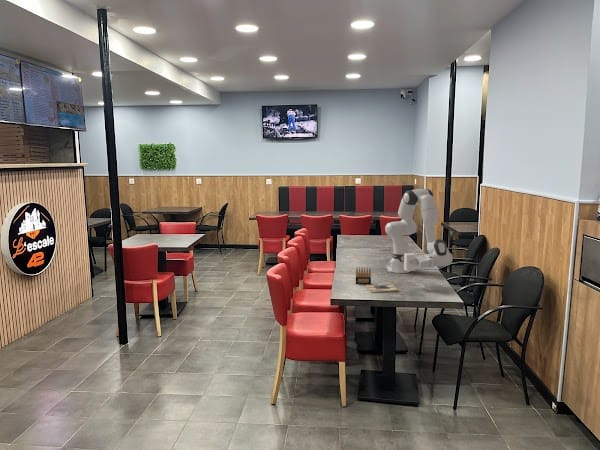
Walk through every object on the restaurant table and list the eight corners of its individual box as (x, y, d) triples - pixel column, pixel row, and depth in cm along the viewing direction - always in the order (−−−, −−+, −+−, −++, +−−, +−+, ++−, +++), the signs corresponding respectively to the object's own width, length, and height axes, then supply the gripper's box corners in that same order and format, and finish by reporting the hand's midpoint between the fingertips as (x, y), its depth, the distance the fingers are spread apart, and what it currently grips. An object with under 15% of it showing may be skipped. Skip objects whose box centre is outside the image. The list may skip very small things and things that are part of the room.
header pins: (378, 287, 297) (378, 283, 297) (384, 287, 298) (384, 283, 297) (379, 287, 296) (379, 283, 296) (384, 287, 297) (384, 283, 296)
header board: (365, 286, 304) (365, 284, 304) (391, 285, 306) (391, 283, 306) (371, 292, 288) (371, 291, 288) (398, 291, 290) (398, 290, 290)
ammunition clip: (355, 284, 310) (355, 267, 308) (355, 283, 312) (355, 266, 310) (371, 284, 308) (371, 267, 307) (371, 283, 310) (371, 267, 308)
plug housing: (403, 269, 301) (404, 253, 299) (412, 269, 301) (412, 253, 300) (406, 271, 296) (406, 254, 294) (415, 270, 296) (415, 254, 295)
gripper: (422, 252, 309) (403, 253, 307) (434, 259, 289) (413, 259, 287) (422, 261, 310) (403, 262, 308) (434, 268, 289) (413, 269, 288)
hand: (408, 261), depth 298 cm, fingers closed on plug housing, 5 cm apart
